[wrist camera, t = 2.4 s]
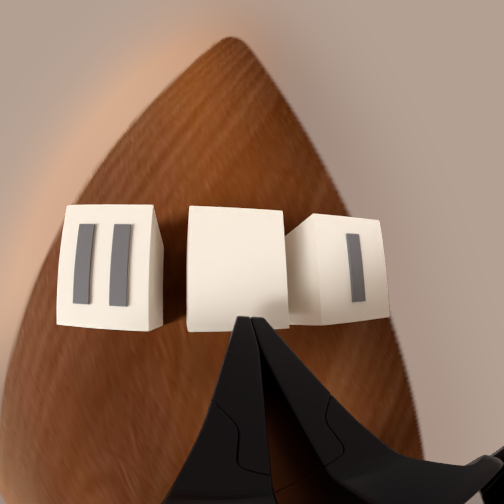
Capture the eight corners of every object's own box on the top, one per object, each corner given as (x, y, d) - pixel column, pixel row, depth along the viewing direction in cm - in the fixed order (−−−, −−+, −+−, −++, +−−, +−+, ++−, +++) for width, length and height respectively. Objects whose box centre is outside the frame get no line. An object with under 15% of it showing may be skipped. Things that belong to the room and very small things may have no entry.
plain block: (249, 324, 17) (289, 328, 11) (186, 325, 16) (188, 332, 10) (246, 249, 19) (282, 210, 12) (186, 247, 18) (189, 205, 11)
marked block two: (163, 325, 16) (148, 331, 9) (103, 322, 15) (55, 324, 8) (164, 243, 17) (153, 197, 10) (106, 242, 16) (67, 198, 10)
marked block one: (324, 319, 19) (391, 316, 12) (271, 323, 18) (323, 325, 11) (319, 248, 20) (380, 214, 13) (268, 246, 19) (313, 207, 12)
